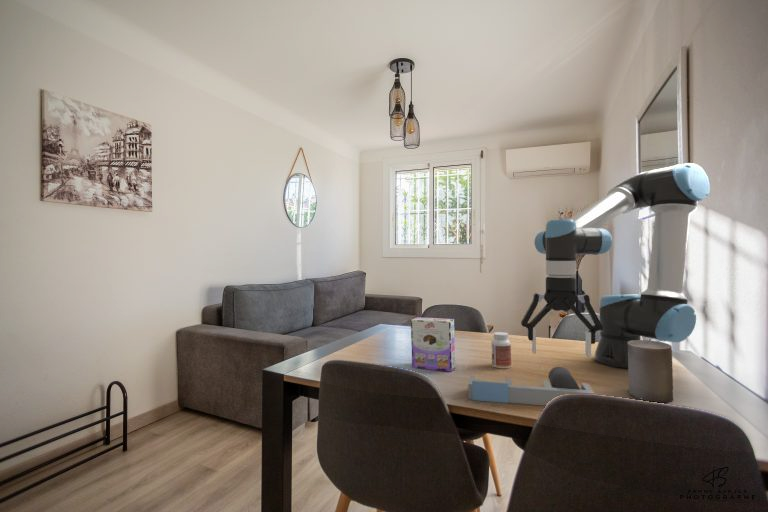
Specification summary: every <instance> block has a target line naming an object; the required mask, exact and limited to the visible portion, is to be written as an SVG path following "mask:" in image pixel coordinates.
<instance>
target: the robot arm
mask: <svg viewBox="0 0 768 512" xmlns="http://www.w3.org/2000/svg"><path fill="white" fill-rule="evenodd" d="M710 188H711V187H710V181H709V177H708V175H707V173H706V172H705V170H704V169H703V167H701V166H700V165H699V164H696V163H691V162H687V163H682V164H680V163H679V164H675V165H671V166H668V167H661V168H657V169H652V170H647V171H643V172H640V173H638V174H635V175H633V176H631V177H629V178H627V179H626V180H623V181H622V182H621V183H619V184H618V185H616V186H614V187H613V188H611V189H610V190H609V191H608V192H607V194H606V195H605V196H604V197H602V198H601V199H599V200H597V201H596V202H594V203H592V204H591V205H590V206H588V207H586V208H585V209H583V210H581V211H580V212H578V213H577V214H575V215H574V216H571V217H570V218H569V219H568V218H567V219H564V218H563V219H551V220H548V221H547V223H546V224H545V230H542V231H540V232H538V233H537V234H536V236H535V238H534V241H533V242H534V247H535V249H536V250H537V252H538V253H540V254H543V255H545V275H546V277H545V292H544V294H542V293H537V292H534V293H533V295H532V302H531V303H530V305H529V307H528V309H526V313H525V314H524V315H523V318H522V319H521V322H520V323H521V324H520V325H521V327H523V328H526V329H527V339H528V341H531V351H532V354H537V329H536V328H535V327H536V326H537V324H539V323H540V322H541V321H542V320H543V318H545V316H546V315H547V314H548V313H549V312H550V311H552V310H553V311H555V312H556V311H557V312H558V311H564V312H568V311H570V310H571V311H572V312H573V314H574V315H575V316H576V317H577V318H578V319H579V320H580V321H581V322H582V323H583V325H584V326H585V327H586V329H588V330H584V331H585V334H584V335H585V350H584V351H585V355H586V357H587V358H591V357H592V345H595V344H596V333H597V331H600V335H599V340H598V343H597V346H596V348H595V352H594V360H595V361H596V362H597V363H600V364H602V365H606V366H610V367H615V368H622V369H628V342H629V341H632V340H641V337H643V338H649V339H654V340H658V341H659V342H670V343H681V342H683V341H685V340H686V339H688V337H690V336H691V334H693V332H694V330H695V326H696V325H697V324H696V322H697V314H696V313H695V308H693V307H692V306H691V305H689V304H688V298H687V297H686V296H685V294H683V285H684V275H685V266H686V255H687V247H688V236H689V229H690V227H689V225H690V219H691V218H690V217H691V215H692V213H694V212H695V211H697V209H698V202H702V201H703V200H706V198H707V197H708V196H709V195H710V194H709V193H710V190H711V189H710ZM647 207H650V208H649V209H650V210H651V211H652V212H653V213H654V214H655V216H654V225H653V232H652V233H653V234H652V242H651V251H650V260H649V270H648V277H647V278H648V279H647V280H648V281H647V288H646V289H645V290H644V291H642V292H641V293H640V294H638V293H628V294H626V293H625V294H609V295H603V296H601V298H600V300H599V317H598V315H597V313H596V311H595V310H594V308H593V306H592V305H591V299H590V295H588V294H586V293H583V294H580V295H579V294H578V293H577V278H576V277H574V276H576V275H577V255H592V256H593V255H595V256H596V255H604V254H606V253H607V252H608V251H609V250H610V249H611V248H612V245H613V238H612V234H611V233H610V231H608V230H607V229H605V228H602V227H603V226H604V225H606V224H607V223H609V222H610V221H612V220H613V219H615V218H616V217H618V216H620V215H621V214H628V213H630V212H631V211H633V210H636V209H640V208H647ZM543 299H544V301H545V302H546V304H544V306H543V308H542V309H540V311H539V312H538V313H537V314H536V315H535V317H533V318H532V320H531V317H532V315H533V313H534V311H535V310H536V308H537V307H538V304H539V303H540V302H542V301H543ZM578 301H579V302H580V303H581V304H583V306H584V308H585V309H586V311H587V313H588V315H589V317H590V319H591V320H592V322H593V324H594V325H593V324H592V323H590V321H589V320H588V319H587V318H586V317H585V315H584V314H583V313H582V312H581V311H580V310H579V309H578V307H576V306H575V305H576V303H577V302H578ZM529 321H530V322H529Z"/></svg>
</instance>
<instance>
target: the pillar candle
mask: <svg viewBox="0 0 768 512" xmlns="http://www.w3.org/2000/svg"><path fill="white" fill-rule="evenodd" d="M672 347H673V346H672V345H671V344H668V343H665V342H664V341H659V340H658V341H656V340H651V338H649V340H648V339H647V340H645V339H640V340H632V341H629V342H628V368H627V370H628V375H627V376H628V393H629V394H630V395H632V397H634V396H635V397H634V398H636V397H637V398H636V399H639V400H642V401H646V400H647V401H646V402H651V401H655V403H669V402H673V401H674V382H673V381H674V379H673V371H674V370H673V368H674V367H673V348H672ZM640 398H642V399H640Z"/></svg>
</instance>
